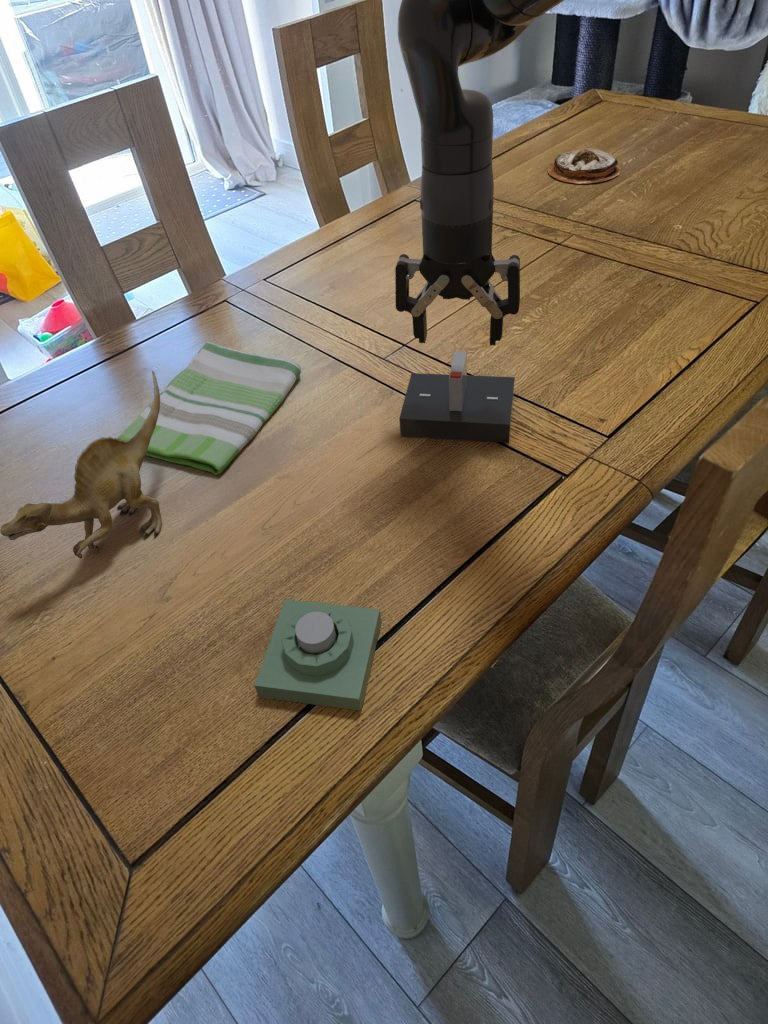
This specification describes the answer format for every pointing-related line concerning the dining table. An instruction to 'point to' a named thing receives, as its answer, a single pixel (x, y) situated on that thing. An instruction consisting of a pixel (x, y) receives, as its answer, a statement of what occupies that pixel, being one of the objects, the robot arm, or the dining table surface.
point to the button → (315, 632)
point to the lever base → (476, 422)
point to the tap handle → (457, 381)
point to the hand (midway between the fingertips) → (457, 340)
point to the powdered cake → (584, 166)
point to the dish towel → (216, 406)
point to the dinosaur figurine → (98, 489)
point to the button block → (321, 658)
